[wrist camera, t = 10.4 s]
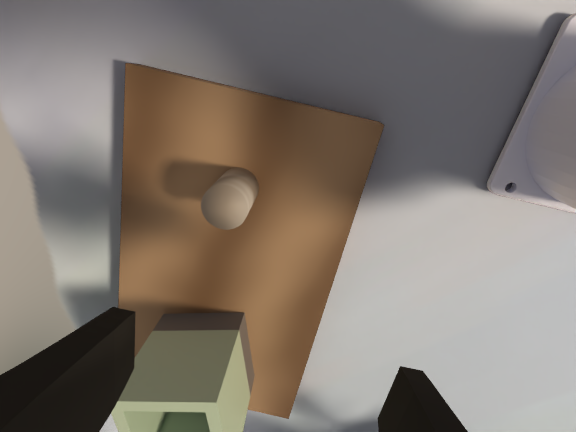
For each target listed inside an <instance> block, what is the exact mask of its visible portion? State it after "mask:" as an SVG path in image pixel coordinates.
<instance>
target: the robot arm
mask: <svg viewBox="0 0 576 432" xmlns="http://www.w3.org/2000/svg"><path fill="white" fill-rule="evenodd" d="M509 183H512V187H511V188H510V189H509V190H505V186H506V185H507V184H509ZM487 188H488V190H489V191H490V192H492V193H494V194H496V195H500V196H504V197H509V198H513V199H517V200H521V201H525V202H529V203H534V204H538V205H542V206H546V207H550V208H555V209H559V210H563V211H567V212H571V213H575V214H576V13H575V14H573V15H570V16H569V17H568V18H566V19H565V21H564V22H563V24H562V25H561V28H560V30H559V32H558V34H557V36H556V38H555V40H554V42H553V44H552V46H551V49H550V51H549V53H548V55H547V57H546V59H545V61H544V63H543V65H542V68H541V70H540V72H539V74H538V76H537V78H536V80H535V82H534V84H533V87H532V89H531V91H530V93H529V95H528V97H527V99H526V101H525V103H524V106H523V108H522V110H521V112H520V114H519V116H518V118H517V120H516V122H515V125H514V127H513V129H512V131H511V133H510V135H509V137H508V139H507V141H506V143H505V146H504V148H503V150H502V152H501V154H500V156H499V158H498V160H497V162H496V165H495V167H494V169H493V171H492V173H491V175H490V177H489V179H488V182H487ZM135 313H136V312H135V311H130V310H125V309H120V308H116V307H112V308H111V309H109V310H107V311H106V312H104V313H102V314H101V315H99V316H98V317H96V318H94V319H93V320H91V321H90V322H88V323H86V324H85V325H83V326H82V327H80V328H78V329H77V330H75V331H74V332H72V333H70V334H69V335H67V336H66V337H64V338H62V339H61V340H59V341H58V342H56V343H54V344H53V345H51V346H49V347H48V348H46V349H45V350H43V351H41V352H39V353H38V354H36V355H34V356H33V357H31V358H29V359H28V360H26V361H24V362H23V363H21V364H19V365H18V366H16V367H14V368H13V369H11V370H9V371H7V372H5V373H3V374H2V375H0V432H99V431H100V430H101V428H102V426H103V425H104V423H105V422H106V420H107V419H108V417H109V415H110V414H111V412H112V411H113V409H114V407H115V406H116V404H117V402H118V400H119V398H120V396H121V394H122V392H123V390H124V388H125V386H126V384H127V382H128V380H129V378H130V376H131V374H132V372H133V370H134V362H135ZM378 427H379V432H468V431H467V430H466V429H465V427H464V426H463V425H462V423H461V422H460V421H459V419H458V418H457V417H456V415H455V414H454V413H453V411H452V410H451V408H450V407H449V406H448V404H447V403H446V402H445V400H444V399H443V397H442V396H441V395H440V393H439V392H438V391H437V389H436V388H435V387H434V385H433V384H432V382H431V381H430V380H429V378H428V377H427V376H426V375H425V373H424V372H423V371H421V370H416V369H411V368H406V367H401V366H400V368H399V370H398V373H397V375H396V377H395V380H394V382H393V384H392V387H391V389H390V391H389V394H388V396H387V398H386V401H385V403H384V405H383V408H382V410H381V412H380V415H379V417H378Z"/></svg>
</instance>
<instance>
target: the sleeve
mask: <svg viewBox="0 0 576 432" xmlns="http://www.w3.org/2000/svg"><path fill="white" fill-rule="evenodd" d="M254 376H255V375H254V369H253V363H252V356H251V350H250V344H249V338H248V331H247V325H246V319H245V312H241V313H181V314H163V315H162V317H161V319H160V320H159V322H158V323H157V325H156V326H155V328H154V329H153V331H152V332H151V334H150V335H149V337H148V338H147V340H146V342H145V343H144V345H143V346H142V348H141V349H140V351H139V352H138V354H137V355H136V357H135V362H134V370H133V372H132V374H131V376H130V378H129V380H128V382H127V384H126V386H125V388H124V390H123V392H122V394H121V396H120V398H119V400H118V402H117V404H116V406H115V407H114V409H113V411H112V412H111V414H112V416H113V419H114V422H115V424H116V427H117V429H118V432H243V429H244V424H245V419H246V414H247V410H248V405H249V400H250V395H251V391H252V386H253V381H254Z"/></svg>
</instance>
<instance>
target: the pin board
mask: <svg viewBox="0 0 576 432" xmlns="http://www.w3.org/2000/svg"><path fill="white" fill-rule="evenodd" d="M383 127H384V125H383V124H382V123H380V122H377V121H373V120H369V119H365V118H361V117H357V116H353V115H348V114H344V113H340V112H336V111H332V110H328V109H323V108H319V107H315V106H311V105H307V104H303V103H298V102H294V101H290V100H286V99H282V98H278V97H274V96H269V95H265V94H261V93H257V92H253V91H249V90H244V89H240V88H236V87H232V86H228V85H224V84H219V83H215V82H211V81H207V80H203V79H199V78H195V77H190V76H186V75H182V74H178V73H174V72H170V71H165V70H161V69H157V68H153V67H149V66H145V65H140V64H132V63H126V65H125V99H124V133H123V167H122V201H121V235H120V270H119V304H118V308H120V309H125V310H130V311H135V312H136V313H135V357H136V355H137V354H138V352H139V351H140V349H141V348H142V346H143V345H144V343H145V342H146V340H147V338H148V337H149V335H150V334H151V332H152V331H153V329H154V328H155V326H156V325H157V323H158V322H159V320H160V319H161V317H162V315H163V314H181V313H241V312H245V319H246V325H247V331H248V338H249V344H250V350H251V356H252V363H253V369H254V375H255V376H254V381H253V386H252V391H251V395H250V400H249V405H248V410H253V411H257V412H261V413H266V414H270V415H274V416H279V417H283V418H287V419H289V416H290V413H291V410H292V406H293V403H294V400H295V397H296V394H297V391H298V388H299V385H300V382H301V379H302V376H303V373H304V370H305V367H306V364H307V360H308V357H309V354H310V351H311V348H312V345H313V342H314V339H315V336H316V333H317V330H318V327H319V324H320V321H321V318H322V314H323V311H324V308H325V305H326V302H327V299H328V296H329V293H330V290H331V287H332V284H333V281H334V278H335V275H336V272H337V269H338V265H339V262H340V259H341V256H342V253H343V250H344V247H345V244H346V241H347V238H348V235H349V232H350V229H351V226H352V223H353V219H354V216H355V213H356V210H357V207H358V204H359V201H360V198H361V195H362V192H363V189H364V186H365V183H366V180H367V177H368V173H369V170H370V167H371V164H372V161H373V158H374V155H375V152H376V149H377V146H378V143H379V140H380V137H381V134H382V131H383Z"/></svg>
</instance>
